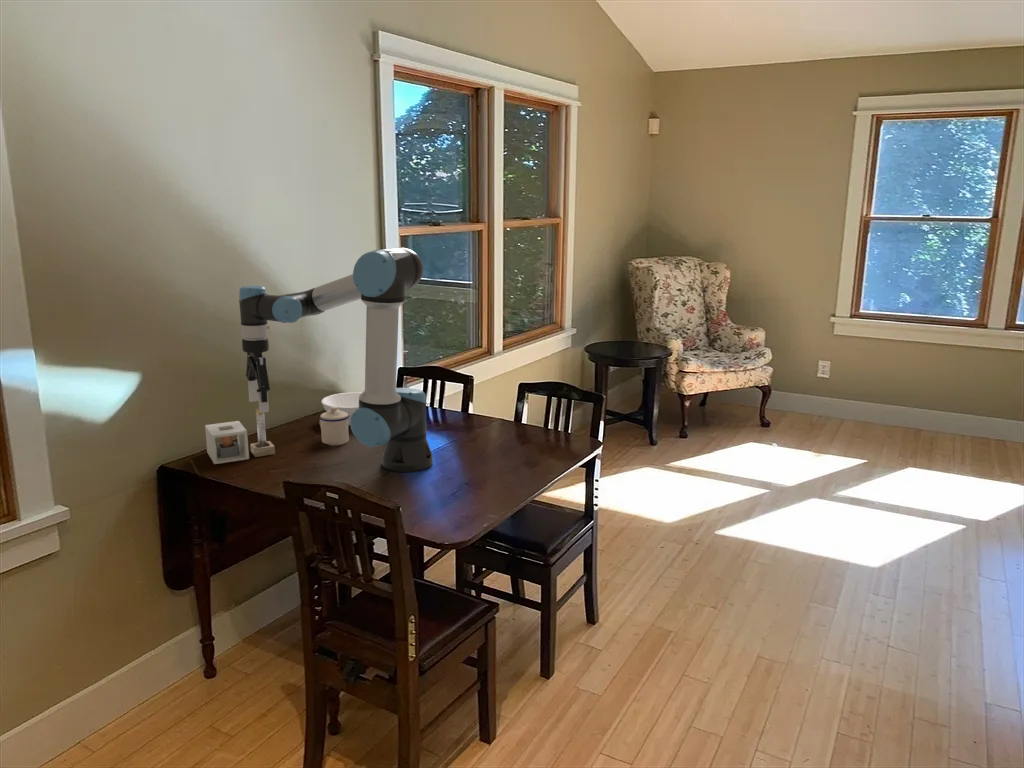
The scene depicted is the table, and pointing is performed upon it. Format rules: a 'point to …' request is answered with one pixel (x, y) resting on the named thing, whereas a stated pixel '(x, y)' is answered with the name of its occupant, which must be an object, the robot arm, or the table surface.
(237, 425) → the white hollow frame cube
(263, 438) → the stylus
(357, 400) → the bowl
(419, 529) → the table surface
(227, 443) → the button
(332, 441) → the teacup with lid
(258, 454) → the stylus stand
